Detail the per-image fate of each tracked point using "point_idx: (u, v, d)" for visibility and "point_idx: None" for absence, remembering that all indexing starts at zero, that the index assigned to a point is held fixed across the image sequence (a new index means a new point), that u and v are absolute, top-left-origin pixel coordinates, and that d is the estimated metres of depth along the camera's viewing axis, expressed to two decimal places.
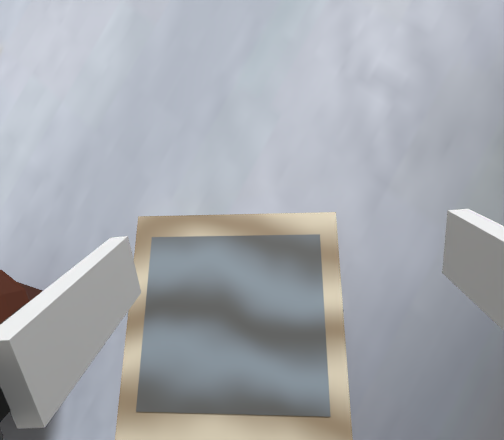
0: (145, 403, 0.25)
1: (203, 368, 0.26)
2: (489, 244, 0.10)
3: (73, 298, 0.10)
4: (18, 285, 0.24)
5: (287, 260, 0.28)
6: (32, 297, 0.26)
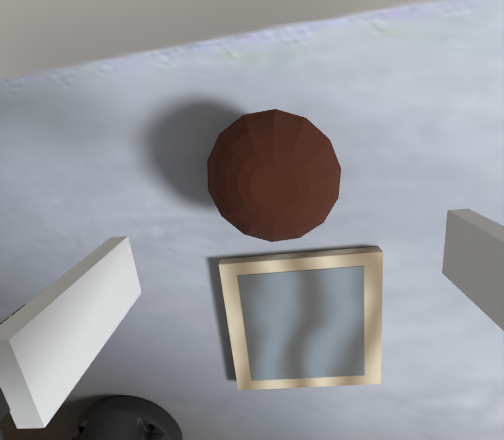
0: (243, 281, 0.37)
1: (269, 313, 0.38)
2: (489, 244, 0.10)
3: (73, 298, 0.10)
4: (325, 217, 0.29)
5: (345, 357, 0.39)
6: None
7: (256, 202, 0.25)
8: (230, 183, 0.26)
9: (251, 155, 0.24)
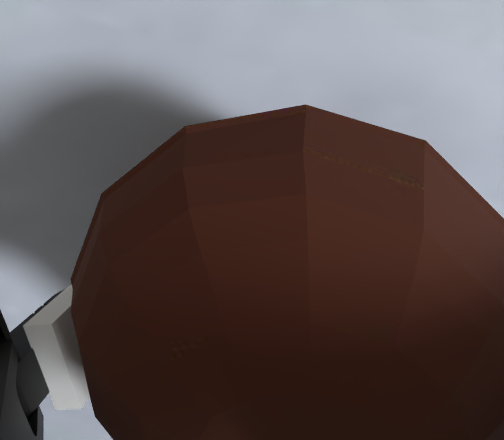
0: None
1: None
2: None
3: None
4: None
5: None
6: None
7: None
8: (120, 414, 0.06)
9: (198, 330, 0.05)
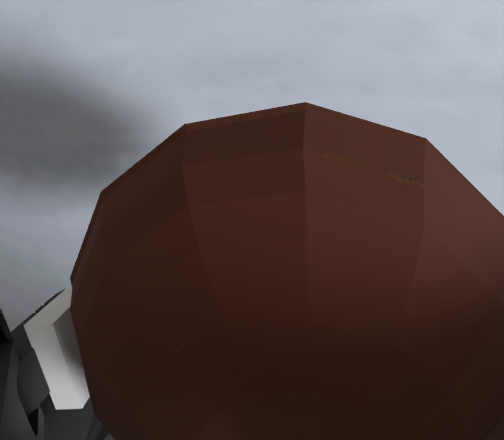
0: None
1: None
2: None
3: None
4: None
5: None
6: None
7: None
8: (119, 413, 0.06)
9: (198, 328, 0.05)
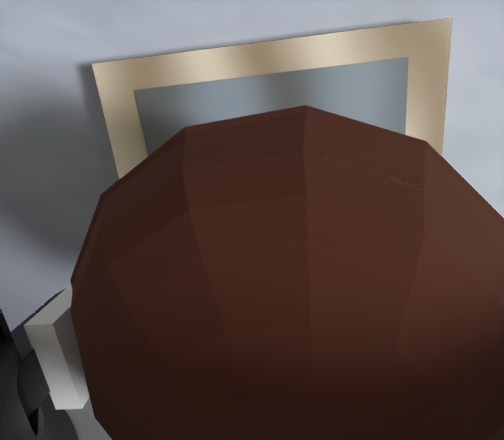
0: (147, 103, 0.17)
1: None
2: None
3: None
4: None
5: None
6: None
7: None
8: (119, 416, 0.06)
9: (198, 331, 0.05)
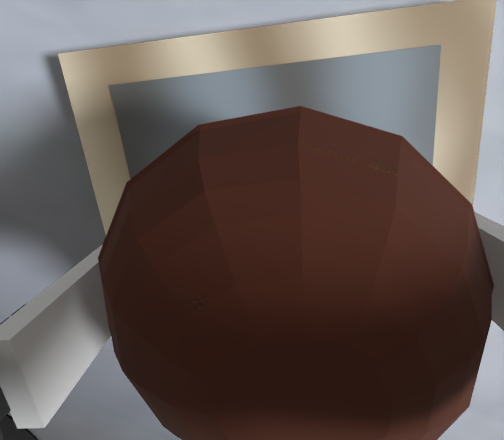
0: (125, 101, 0.14)
1: None
2: (489, 244, 0.10)
3: (73, 298, 0.10)
4: None
5: None
6: None
7: None
8: (146, 364, 0.07)
9: (213, 287, 0.06)
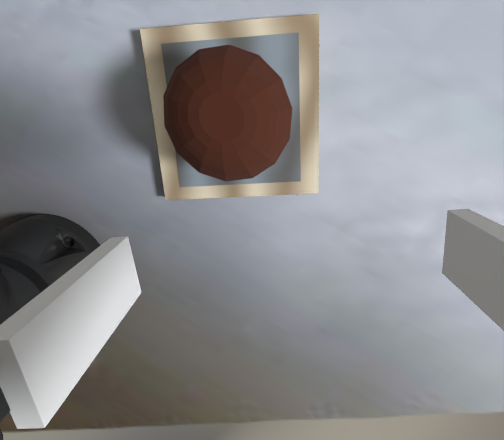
0: (167, 51, 0.33)
1: None
2: (489, 244, 0.10)
3: (73, 298, 0.10)
4: (277, 157, 0.29)
5: (280, 156, 0.36)
6: None
7: (205, 131, 0.26)
8: (181, 113, 0.26)
9: (201, 84, 0.25)
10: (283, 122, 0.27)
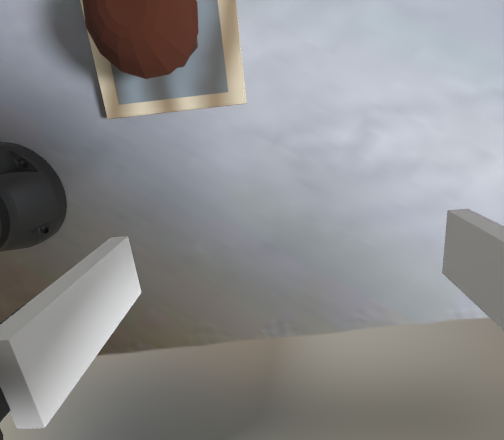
0: None
1: None
2: (489, 244, 0.10)
3: (73, 298, 0.10)
4: (189, 52, 0.33)
5: (207, 68, 0.39)
6: None
7: (113, 19, 0.29)
8: (93, 5, 0.29)
9: None
10: (187, 13, 0.31)
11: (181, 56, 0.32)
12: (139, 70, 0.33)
